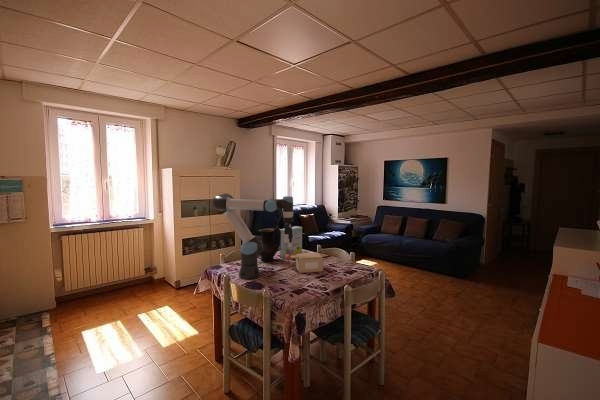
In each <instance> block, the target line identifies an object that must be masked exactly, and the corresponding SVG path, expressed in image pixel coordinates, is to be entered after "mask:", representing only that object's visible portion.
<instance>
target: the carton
mask: <svg viewBox="0 0 600 400" xmlns="http://www.w3.org/2000/svg"><path fill="white" fill-rule="evenodd" d="M295 268H296V269H297V271H298V272H299V273H300V274H304V273H315V272H323V271H324V258H314V259H299V258H295Z"/></svg>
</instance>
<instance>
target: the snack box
mask: <svg viewBox="0 0 600 400" xmlns="http://www.w3.org/2000/svg"><path fill="white" fill-rule="evenodd" d="M284 231H285V228H281V229H280V257H279V258H282V259H286V257H285V256H286V254H289V255H290V256H294V255H296V254H302V253H303V226H297V225H296V226H292V234H293V238H292V247H288V243H285V233H284ZM286 260H287V259H286Z"/></svg>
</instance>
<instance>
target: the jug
mask: <svg viewBox="0 0 600 400" xmlns="http://www.w3.org/2000/svg"><path fill="white" fill-rule="evenodd" d="M257 231H258V232H260V234H261V235H260V236H261V240H260V241H261V243H262V245H263V249H262V251H261V253H260V254H259V256H260V257H261V259H260V261H261V262H263V263H272V262H274V261H275V258H274V257H275V255H276V254H277V252H278V251H279V248H280V246H281V229H280V226H276V227H275V228H263V229H262V228H261V229H257ZM275 232H276V233H277V234H276V235H277V237H276V244H275V240H274V235H275V234H274V233H275Z"/></svg>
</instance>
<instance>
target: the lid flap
mask: <svg viewBox="0 0 600 400" xmlns="http://www.w3.org/2000/svg"><path fill="white" fill-rule="evenodd" d="M285 257H286V260H287V261H288V262H289V261H291V260H292V259H296V258H299V259H314V258H323V255H321V254H319V252H306V253H305V252H304V253H303V252H302V254H296V255H294V256H290V255H289V254H286V256H285ZM323 259H324V258H323Z"/></svg>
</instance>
